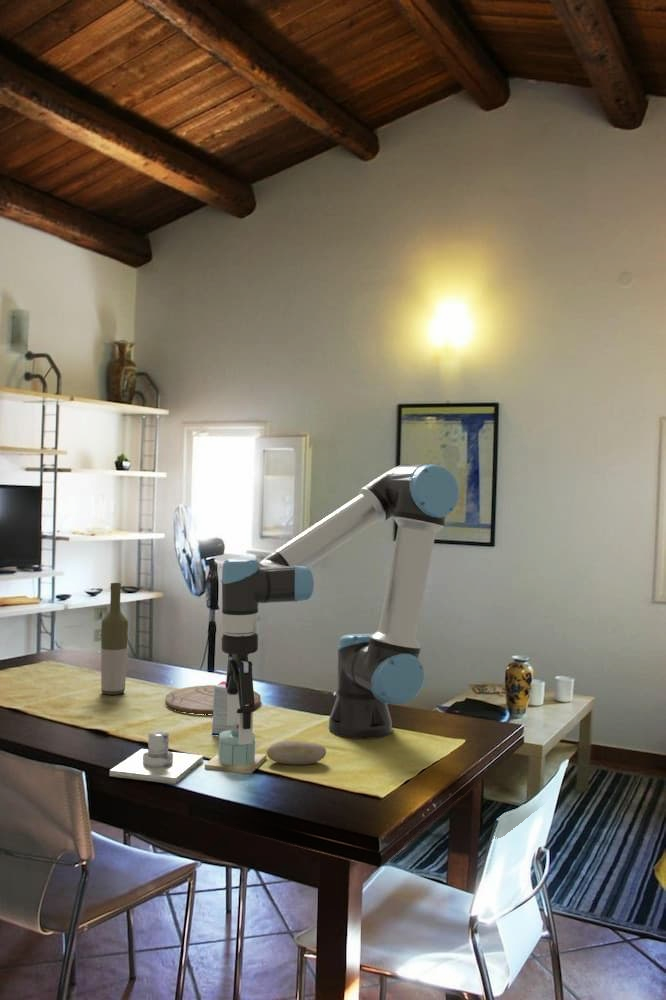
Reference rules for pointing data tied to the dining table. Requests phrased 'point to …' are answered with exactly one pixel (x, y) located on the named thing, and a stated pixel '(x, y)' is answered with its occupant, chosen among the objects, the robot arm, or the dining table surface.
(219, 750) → the cap
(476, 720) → the dining table surface
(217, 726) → the supplement box
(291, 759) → the stone
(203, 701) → the trivet
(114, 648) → the bottle
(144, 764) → the post
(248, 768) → the coaster
